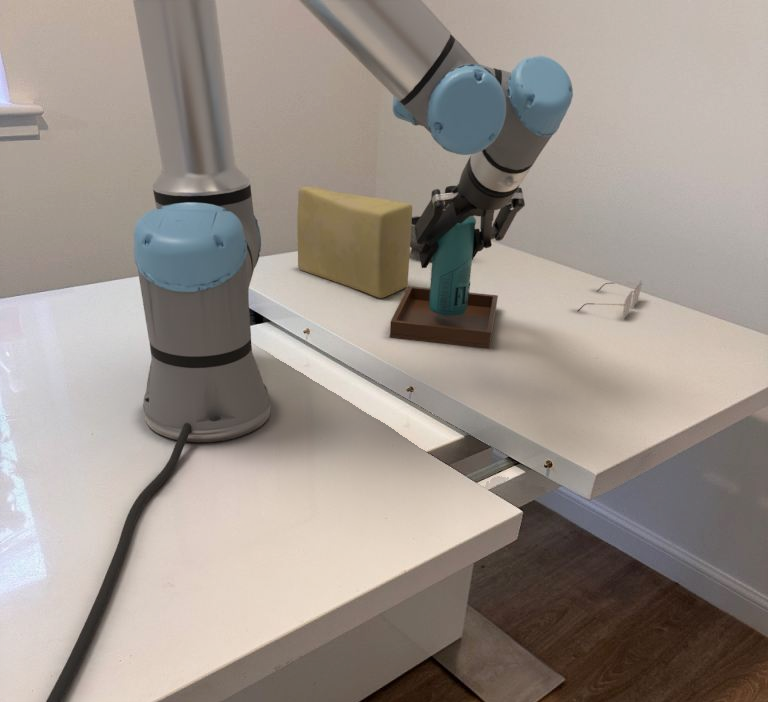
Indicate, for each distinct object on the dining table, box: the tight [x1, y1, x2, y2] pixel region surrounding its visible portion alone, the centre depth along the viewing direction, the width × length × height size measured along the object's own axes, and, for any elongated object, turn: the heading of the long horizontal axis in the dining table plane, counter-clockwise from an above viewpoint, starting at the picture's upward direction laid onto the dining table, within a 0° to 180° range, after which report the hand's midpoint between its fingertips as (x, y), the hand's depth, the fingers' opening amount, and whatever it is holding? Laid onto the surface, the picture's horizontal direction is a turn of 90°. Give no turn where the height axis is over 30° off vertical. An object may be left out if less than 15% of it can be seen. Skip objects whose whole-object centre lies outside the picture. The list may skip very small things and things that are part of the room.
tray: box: [389, 285, 499, 349], centre depth 118 cm, size 18×16×3 cm
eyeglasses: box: [576, 279, 643, 319], centre depth 128 cm, size 14×8×4 cm, turn 151°
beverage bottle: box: [428, 185, 477, 316], centre depth 112 cm, size 6×7×20 cm
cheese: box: [296, 186, 413, 299], centre depth 129 cm, size 22×10×15 cm, turn 56°
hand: (443, 259), depth 116 cm, fingers closed on beverage bottle, 6 cm apart
